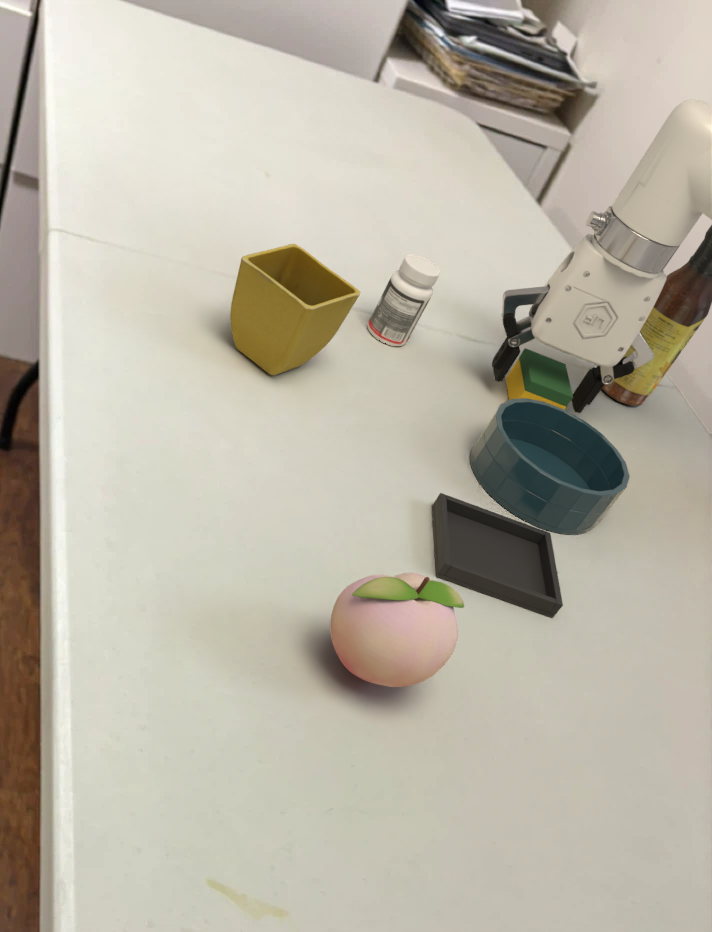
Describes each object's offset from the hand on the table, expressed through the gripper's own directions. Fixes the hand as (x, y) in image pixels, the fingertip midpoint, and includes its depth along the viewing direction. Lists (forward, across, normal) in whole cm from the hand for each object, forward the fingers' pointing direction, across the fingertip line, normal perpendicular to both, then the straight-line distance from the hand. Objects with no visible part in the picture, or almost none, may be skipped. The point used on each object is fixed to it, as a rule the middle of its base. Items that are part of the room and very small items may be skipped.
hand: (535, 390), depth 118 cm
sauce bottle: (+2, +13, +11) cm, 17 cm away
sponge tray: (+2, -7, -31) cm, 32 cm away
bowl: (+2, -1, -16) cm, 16 cm away
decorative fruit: (+2, -19, -51) cm, 54 cm away
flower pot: (+2, -30, -11) cm, 32 cm away
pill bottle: (+2, -17, +3) cm, 17 cm away
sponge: (+2, 0, 0) cm, 2 cm away
